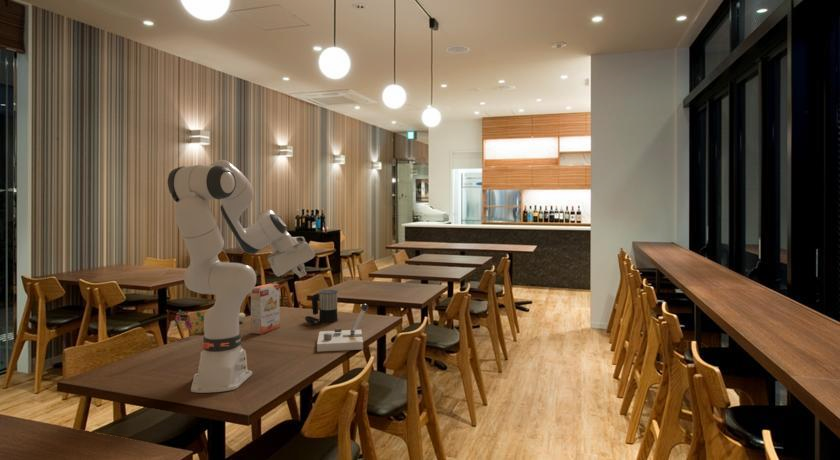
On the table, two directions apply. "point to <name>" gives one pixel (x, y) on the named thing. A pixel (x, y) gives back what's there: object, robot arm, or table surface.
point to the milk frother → (324, 307)
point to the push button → (327, 336)
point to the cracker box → (265, 308)
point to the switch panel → (340, 341)
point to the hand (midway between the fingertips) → (303, 276)
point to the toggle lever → (359, 318)
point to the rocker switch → (337, 330)
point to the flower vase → (189, 324)
